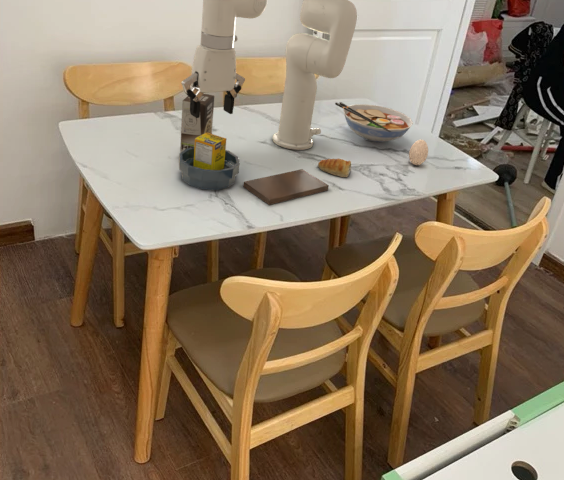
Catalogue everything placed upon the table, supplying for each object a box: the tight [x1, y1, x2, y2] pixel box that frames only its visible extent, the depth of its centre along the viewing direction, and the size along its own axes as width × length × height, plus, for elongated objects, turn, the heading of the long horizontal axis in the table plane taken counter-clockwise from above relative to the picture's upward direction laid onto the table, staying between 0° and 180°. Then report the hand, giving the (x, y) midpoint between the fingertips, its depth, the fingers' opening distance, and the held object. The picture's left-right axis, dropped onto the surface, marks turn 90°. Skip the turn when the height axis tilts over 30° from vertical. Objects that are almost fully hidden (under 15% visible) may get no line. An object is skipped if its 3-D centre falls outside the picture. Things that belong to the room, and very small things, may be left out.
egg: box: [408, 139, 429, 166], centre depth 182 cm, size 6×6×8 cm
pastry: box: [317, 158, 352, 178], centre depth 171 cm, size 9×7×4 cm
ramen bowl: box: [334, 101, 414, 143], centre depth 197 cm, size 25×23×8 cm
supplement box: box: [194, 133, 227, 170], centre depth 155 cm, size 6×6×11 cm
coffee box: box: [179, 93, 216, 159], centre depth 165 cm, size 9×6×16 cm
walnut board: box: [242, 168, 330, 206], centre depth 158 cm, size 20×11×2 cm, turn 129°
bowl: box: [178, 147, 241, 191], centre depth 156 cm, size 15×15×6 cm
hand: (211, 114), depth 148 cm, fingers open, 9 cm apart
